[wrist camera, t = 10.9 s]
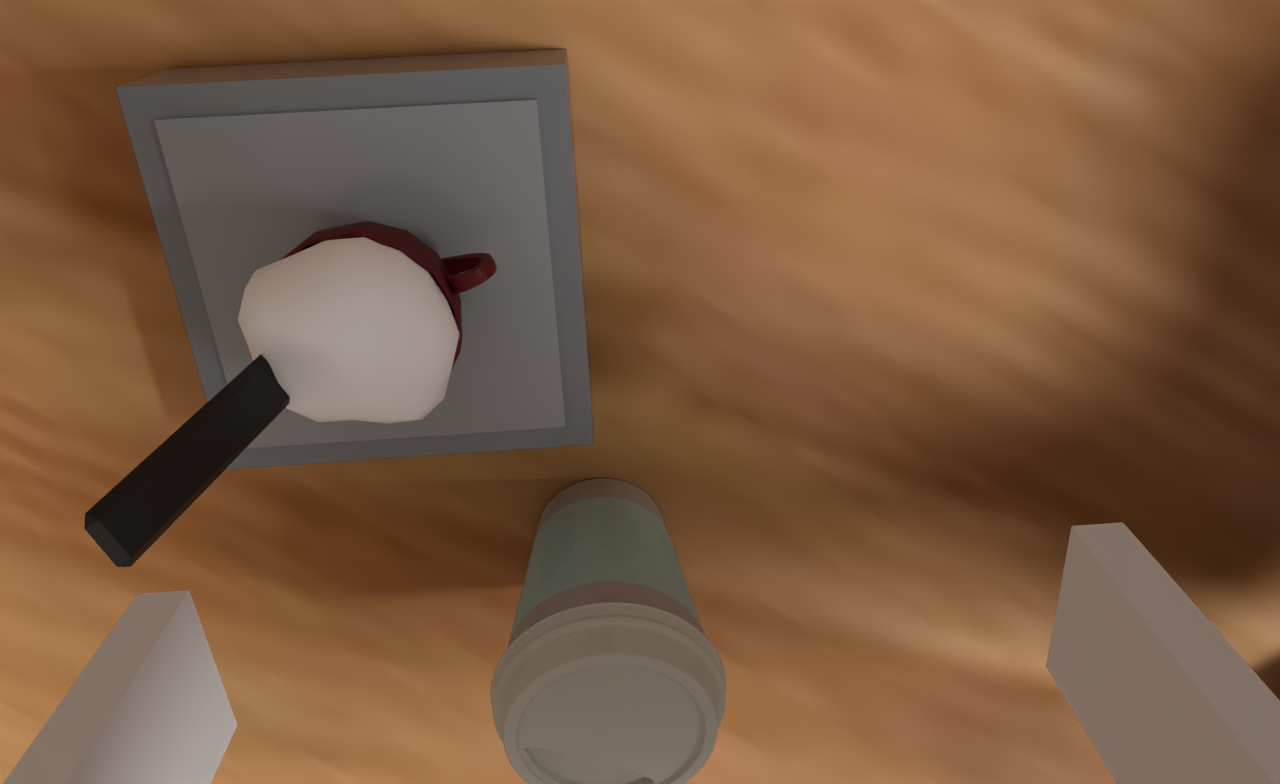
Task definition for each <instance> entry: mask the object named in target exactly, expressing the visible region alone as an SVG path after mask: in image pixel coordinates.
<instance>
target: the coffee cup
mask: <svg viewBox="0 0 1280 784" xmlns="http://www.w3.org/2000/svg"><path fill="white" fill-rule="evenodd" d="M725 694H726V677H725V671H724V667H723V664H722V661H721V659H720V657H719V655H718V653H717V651H716V649H715V648H714V646H713V645H712V644H711V642H710V641H709V640H708V639H707V638H706V637H705V636H704V633H703V630H702V627H701V624H700V621H699V619H698V616H697V613H696V610H695V607H694V604H693V602H692V599H691V596H690V593H689V590H688V587H687V585H686V582H685V579H684V576H683V573H682V570H681V567H680V565H679V562H678V559H677V556H676V553H675V550H674V548H673V545H672V542H671V539H670V536H669V534H668V531H667V528H666V525H665V523H664V520H663V517H662V514H661V512H660V510H659V508H658V506H657V504H656V503H655V502H654V500H653V499H652V498H651V497H650V496H649V495H648V494H647V493H645V492H644V491H643V490H641V489H640V488H638V487H636V486H634V485H632V484H630V483H627V482H624V481H620V480H615V479H604V478H602V479H591V480H586V481H582V482H578V483H576V484H573V485H571V486H569V487H567V488H565V489H564V490H562V491H561V492H559V493H558V494H557V495H556V496H555V497H554V498H553V499H552V500H551V501H550V502H549V503H548V504H547V506H546V507H545V509H544V511H543V513H542V515H541V518H540V521H539V525H538V529H537V533H536V536H535V540H534V544H533V548H532V552H531V556H530V560H529V564H528V568H527V572H526V576H525V580H524V584H523V588H522V592H521V596H520V600H519V604H518V608H517V612H516V616H515V620H514V624H513V629H512V633H511V637H510V641H509V645H508V649H507V650H506V651H505V653H504V654H503V656H502V657H501V659H500V661H499V662H498V665H497V667H496V669H495V672H494V675H493V679H492V684H491V704H492V709H493V719H494V724H495V727H496V730H497V732H498V735H499V737H500V739H501V740H502V742H503V744H504V748H505V751H506V755H507V757H508V759H509V761H510V763H511V765H512V766H513V768H514V769H515V771H516V772H517V773H518V774H519V776H520V777H521V778H522V779H523V780H524V781H526V782H527V783H528V784H685V783H686V782H687V781H689V780H690V779H691V778H692V777H693V776H694V775H695V774H696V773H697V772H698V771H699V770H700V769H701V768H702V767H703V766H704V764H705V763H706V761H707V760H708V758H709V756H710V755H711V753H712V751H713V748H714V745H715V743H716V738H717V733H718V728H719V726H720V724H721V721H722V718H723V715H724V710H725V700H726V696H725Z"/></svg>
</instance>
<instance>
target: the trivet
mask: <svg viewBox="0 0 1280 784" xmlns="http://www.w3.org/2000/svg"><path fill="white" fill-rule="evenodd" d="M116 91H117V94H118V98H119V101H120V105H121V108H122V111H123V115H124V118H125V122H126V125H127V129H128V132H129V135H130V139H131V142H132V146H133V149H134V153H135V156H136V160H137V163H138V166H139V170H140V173H141V177H142V180H143V184H144V187H145V190H146V194H147V197H148V201H149V204H150V208H151V211H152V214H153V218H154V221H155V225H156V228H157V232H158V235H159V238H160V242H161V245H162V249H163V252H164V256H165V259H166V262H167V266H168V269H169V273H170V276H171V280H172V283H173V286H174V290H175V293H176V297H177V300H178V304H179V307H180V310H181V314H182V317H183V321H184V324H185V328H186V331H187V335H188V338H189V341H190V345H191V348H192V352H193V355H194V359H195V362H196V365H197V369H198V372H199V376H200V379H201V383H202V386H203V389H204V393H205V396H206V400H207V402H209V401H210V400H211V399H212V398H213V397H214V396H215V395H216V394H217V393H218V392H220V391H221V390H222V389H223V388H224V387H225V386H226V385H227V384H228V383H229V382H231V381H232V380H233V379H234V378H235V377H236V376H237V375H238V374H239V373H240V372H242V371H243V370H244V369H245V368H246V367H247V366H248V365H249V364H250V363H251V362H253V359H252V356H251V353H250V350H249V348H248V345H247V342H246V340H245V337H244V335H243V332H242V329H241V327H240V324H239V322H238V316H239V311H240V307H241V303H242V299H243V295H244V290H245V287H246V286H247V284H248V282H249V281H250V279H251V277H252V276H253V274H254V272H255V271H256V270H258V269H260V268H263V267H265V266H267V265H270V264H272V263H275V262H277V261H279V260H281V259H282V258H283V257H284V256H285V255H287V254H288V253H289V252H290V251H292V250H293V249H294V248H296V247H297V246H298V245H299V244H301V243H302V242H303V241H304V240H306V239H307V238H308V237H309V236H311V235H312V234H313V233H315V232H317V231H320V230H323V229H327V228H333V227H338V226H343V225H348V224H354V223H359V222H364V221H371V222H375V223H379V224H383V225H387V226H391V227H396V228H400V229H404V230H407V231H409V232H410V233H411V234H413V235H414V236H415V237H417V238H418V239H419V240H421V241H422V242H423V243H425V244H426V245H427V246H429V247H430V248H431V249H433V250H434V251H435V252H436V253H438V255H439V257H440V259H442V258H446V257H452V256H458V255H464V254H472V253H488V254H490V255H491V256H492V257H493V259H494V260H495V263H496V266H497V270H496V272H495V273H494V275H493V276H492V277H490V278H489V279H488V280H487V281H485V282H484V283H482V284H480V285H478V286H476V287H474V288H472V289H469V290H467V291H464V292H462V293H459V295H460V298H461V315H462V345H461V351H460V354H459V356H458V358H457V360H456V362H455V364H454V366H453V368H452V370H451V373H450V377H449V381H448V385H447V389H446V393H445V396H444V399H443V400H442V401H441V402H440V403H439V404H438V405H437V406H436V407H435V408H434V409H433V410H432V411H431V412H430V413H428V414H427V415H426V416H425V417H424V418H423V419H421V420H413V421H405V422H397V423H389V424H388V423H378V422H367V421H357V420H348V421H330V422H316V421H314V420H312V419H309V418H307V417H305V416H303V415H300V414H298V413H296V412H294V411H291V410H289V409H287V408H285V409H284V410H283V411H282V412H281V413H280V414H279V415H278V416H277V417H276V418H275V419H274V420H273V421H272V422H271V423H270V424H269V425H268V426H267V427H266V428H265V429H264V430H263V431H262V432H261V433H260V434H259V435H258V436H257V437H256V438H255V439H254V440H253V441H252V442H251V443H250V444H249V445H248V447H247V448H246V449H245V450H244V451H243V452H242V453H241V454H240V455H239V456H238V457H237V458H236V459H235V460H234V461H233V462H232V463H231V464H230V465H229V466H228V467H227V469H240V468H255V467H269V466H284V465H299V464H313V463H328V462H343V461H358V460H372V459H387V458H402V457H416V456H431V455H446V454H461V453H475V452H490V451H505V450H520V449H534V448H549V447H564V446H578V445H593V444H594V440H593V415H592V393H591V380H590V366H589V352H588V338H587V324H586V311H585V297H584V283H583V269H582V255H581V242H580V228H579V214H578V200H577V186H576V173H575V159H574V145H573V131H572V117H571V104H570V90H569V76H568V62H567V49H551V50H531V51H511V52H492V53H472V54H452V55H432V56H413V57H393V58H373V59H353V60H333V61H314V62H294V63H274V64H254V65H234V66H215V67H195V68H175V69H165V70H162V71H159V72H156V73H154V74H151V75H148V76H145V77H143V78H140V79H137V80H134V81H132V82H129V83H126V84H123V85H121V86H118V87H116ZM462 273H464V272H462ZM459 274H460V273H459Z"/></svg>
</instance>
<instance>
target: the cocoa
mask: <svg viewBox="0 0 1280 784" xmlns="http://www.w3.org/2000/svg"><path fill="white" fill-rule="evenodd" d="M496 270H497V266H496V263H495V260H494V259H493V257H492V256H491V255H490V254H488V253H472V254H464V255H458V256H452V257H446V258H442V259H440V257H439V255H438V253H436V252H435V251H434V250H433V249H431V248H430V247H429V246H427V245H426V244H425V243H423V242H422V241H421V240H419V239H418V238H417V237H415V236H414V235H413V234H411V233H410V232H409V231H407V230H404V229H400V228H396V227H391V226H387V225H383V224H379V223H375V222H371V221H364V222H359V223H354V224H348V225H343V226H338V227H333V228H327V229H323V230H320V231H317V232H315V233H313V234H312V235H311V236H309V237H308V238H307V239H306V240H304V241H303V242H302V243H301V244H299V245H298V246H297V247H296V248H294V249H293V250H292V251H290V252H289V253H288V254H287V255H285V256H284V257H283V258H282V259H281V260H279V261H277V262H275V263H272V264H270V265H267V266H265V267H263V268H260V269H258V270H256V271H255V272H254V274H253V276H252V277H251V279H250V281H249V282H248V284H247V286H246V287H245V290H244V295H243V299H242V303H241V307H240V311H239V316H238V322H239V324H240V327H241V329H242V332H243V335H244V337H245V340H246V342H247V345H248V348H249V350H250V353H251V356H252V359H253V362H251V363H250V364H249V365H248V366H247V367H246V368H245V369H244V370H243V371H242V372H240V373H239V374H238V375H237V376H236V377H235V378H234V379H233V380H232V381H231V382H229V383H228V384H227V385H226V386H225V387H224V388H223V389H222V390H221V391H220V392H218V393H217V394H216V395H215V396H214V397H213V398H212V399H211V400H210V401H209V402H207V403H206V404H205V405H204V406H203V407H202V408H201V409H200V410H199V411H198V412H196V413H195V414H194V415H193V416H192V417H191V418H190V419H189V420H188V421H187V422H185V423H184V424H183V425H182V426H181V427H180V428H179V429H178V430H177V431H176V432H174V433H173V434H172V435H171V436H170V437H169V438H168V439H167V440H166V441H165V442H163V443H162V444H161V445H160V446H159V447H158V448H157V449H156V450H155V451H154V452H152V453H151V454H150V455H149V456H148V457H147V458H146V459H145V460H144V461H143V462H141V463H140V464H139V465H138V466H137V467H136V468H135V469H134V470H133V471H132V472H130V473H129V474H128V475H127V476H126V477H125V478H124V479H123V480H122V481H121V482H119V483H118V484H117V485H116V486H115V487H114V488H113V489H112V490H111V491H110V492H108V493H107V494H106V495H105V496H104V497H103V498H102V499H101V500H100V501H99V502H97V503H96V504H95V505H94V506H93V507H92V508H91V509H90V510H89V511H88V512H86V513H85V527H84V529H85V530H86V531H87V532H88V533H89V534H90V536H91V537H92V538H93V539H94V540H95V541H96V543H97V544H98V545H99V546H100V547H101V548H102V550H103V551H104V552H105V553H106V554H107V556H108V557H109V558H110V559H111V560H112V561H113V563H114V564H115V565H116V566H117V567H131V566H132V565H133V563H134V562H135V561H136V560H137V559H138V558H139V557H140V556H141V555H142V554H143V553H144V552H145V551H146V550H147V549H148V548H149V547H150V546H151V545H152V544H153V543H154V542H155V541H156V540H157V539H158V538H159V537H160V536H161V535H162V534H163V533H164V532H165V531H166V530H167V529H168V528H169V527H170V526H171V524H172V523H173V522H174V521H175V520H176V519H177V518H178V517H179V516H180V515H181V514H182V513H183V512H184V511H185V510H186V509H187V508H188V507H189V506H190V505H191V504H192V503H193V502H194V501H195V500H196V499H197V498H198V497H199V496H200V495H201V494H202V493H203V492H204V491H205V490H206V489H207V488H208V487H209V486H210V484H211V483H212V482H213V481H214V480H215V479H216V478H217V477H218V476H219V475H220V474H221V473H222V472H223V471H224V470H225V469H226V468H227V467H228V466H229V465H230V464H231V463H232V462H233V461H234V460H235V459H236V458H237V457H238V456H239V455H240V454H241V453H242V452H243V451H244V450H245V449H246V448H247V447H248V445H249V444H250V443H251V442H252V441H253V440H254V439H255V438H256V437H257V436H258V435H259V434H260V433H261V432H262V431H263V430H264V429H265V428H266V427H267V426H268V425H269V424H270V423H271V422H272V421H273V420H274V419H275V418H276V417H277V416H278V415H279V414H280V413H281V412H282V411H283V410H284V409H285V408H287V409H289V410H291V411H294V412H296V413H298V414H300V415H303V416H305V417H307V418H309V419H312V420H314V421H316V422H330V421H348V420H357V421H367V422H378V423H388V424H389V423H397V422H405V421H413V420H421V419H423V418H424V417H425V416H426V415H427V414H428V413H430V412H431V411H432V410H433V409H434V408H435V407H436V406H437V405H438V404H439V403H440V402H441V401H442V400H443V399H444V396H445V393H446V389H447V385H448V381H449V377H450V373H451V370H452V368H453V366H454V364H455V362H456V360H457V358H458V356H459V354H460V351H461V345H462V315H461V298H460V295H459V293H462V292H464V291H467V290H469V289H472V288H474V287H476V286H478V285H480V284H482V283H484V282H485V281H487V280H488V279H489V278H490V277H492V276H493V275H494V273H495V272H496ZM462 272H464V273H462ZM459 273H460V274H459Z"/></svg>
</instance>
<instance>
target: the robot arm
mask: <svg viewBox="0 0 1280 784" xmlns="http://www.w3.org/2000/svg"><path fill="white" fill-rule="evenodd" d="M1046 667H1047V669H1048V670H1049V672H1050V674H1051V675H1052V677H1053V679H1054V680H1055V682H1056V684H1057V685H1058V687H1059V689H1060V690H1061V692H1062V694H1063V695H1064V697H1065V698H1066V700H1067V702H1068V703H1069V705H1070V707H1071V708H1072V710H1073V712H1074V713H1075V715H1076V717H1077V718H1078V720H1079V722H1080V723H1081V725H1082V727H1083V728H1084V730H1085V732H1086V733H1087V735H1088V737H1089V738H1090V740H1091V742H1092V743H1093V745H1094V747H1095V748H1096V750H1097V752H1098V753H1099V755H1100V757H1101V758H1102V760H1103V762H1104V763H1105V765H1106V767H1107V768H1108V770H1109V772H1110V773H1111V775H1112V776H1113V778H1114V780H1115V781H1116V783H1117V784H1280V700H1279V699H1278V698H1277V697H1276V696H1275V695H1274V693H1273V692H1272V691H1271V690H1270V689H1269V688H1268V687H1267V686H1266V684H1265V683H1264V682H1263V681H1262V680H1261V679H1260V678H1259V676H1258V675H1257V674H1256V673H1255V672H1254V671H1253V670H1252V668H1251V667H1250V666H1249V665H1248V664H1247V663H1246V662H1245V661H1244V659H1243V658H1242V657H1241V656H1240V655H1239V654H1238V653H1237V651H1236V650H1235V649H1234V648H1233V647H1232V646H1231V645H1230V643H1229V642H1228V641H1227V640H1226V639H1225V638H1224V637H1223V636H1222V634H1221V633H1220V632H1219V631H1218V630H1217V629H1216V628H1215V626H1214V625H1213V624H1212V623H1211V622H1210V621H1209V620H1208V618H1207V617H1206V616H1205V615H1204V614H1203V613H1202V612H1201V611H1200V609H1199V608H1198V607H1197V606H1196V605H1195V604H1194V603H1193V601H1192V600H1191V599H1190V598H1189V597H1188V596H1187V595H1186V593H1185V592H1184V591H1183V590H1182V589H1181V588H1180V587H1179V586H1178V584H1177V583H1176V582H1175V581H1174V580H1173V579H1172V578H1171V576H1170V575H1169V574H1168V573H1167V572H1166V571H1165V570H1164V568H1163V567H1162V566H1161V565H1160V564H1159V563H1158V562H1157V561H1156V559H1155V558H1154V557H1153V556H1152V555H1151V554H1150V553H1149V551H1148V550H1147V549H1146V548H1145V547H1144V546H1143V545H1142V543H1141V542H1140V541H1139V540H1138V539H1137V538H1136V537H1135V536H1134V534H1133V533H1132V532H1131V531H1130V530H1129V529H1128V528H1127V526H1126V525H1125V524H1124V523H1123V522H1119V523H1106V524H1092V525H1078V526H1071V532H1070V537H1069V543H1068V548H1067V554H1066V559H1065V565H1064V570H1063V576H1062V581H1061V587H1060V592H1059V598H1058V603H1057V609H1056V614H1055V620H1054V625H1053V631H1052V636H1051V642H1050V647H1049V653H1048V658H1047V664H1046ZM236 727H237V723H236V720H235V717H234V714H233V712H232V709H231V706H230V703H229V700H228V698H227V695H226V692H225V689H224V686H223V684H222V681H221V678H220V675H219V672H218V670H217V667H216V664H215V661H214V659H213V656H212V653H211V650H210V647H209V645H208V642H207V639H206V636H205V633H204V631H203V628H202V625H201V622H200V619H199V617H198V614H197V611H196V608H195V605H194V603H193V600H192V597H191V594H190V592H189V590H182V591H168V592H155V593H141V594H137V595H136V596H135V598H134V599H133V601H132V602H131V603H130V605H129V606H128V608H127V609H126V610H125V612H124V613H123V615H122V616H121V618H120V619H119V620H118V622H117V623H116V625H115V626H114V627H113V629H112V630H111V632H110V633H109V635H108V636H107V637H106V639H105V640H104V642H103V643H102V644H101V646H100V647H99V649H98V650H97V652H96V653H95V654H94V656H93V657H92V659H91V660H90V662H89V663H88V664H87V666H86V667H85V669H84V670H83V671H82V673H81V674H80V676H79V677H78V679H77V680H76V681H75V683H74V684H73V686H72V687H71V688H70V690H69V691H68V693H67V694H66V696H65V697H64V698H63V700H62V701H61V703H60V704H59V705H58V707H57V708H56V710H55V711H54V713H53V714H52V715H51V717H50V718H49V720H48V721H47V722H46V724H45V725H44V727H43V728H42V730H41V731H40V732H39V734H38V735H37V737H36V738H35V739H34V741H33V742H32V744H31V745H30V747H29V748H28V749H27V751H26V752H25V754H24V755H23V756H22V758H21V759H20V761H19V762H18V764H17V765H16V766H15V768H14V769H13V771H12V772H11V773H10V775H9V776H8V778H7V779H6V781H5V782H4V783H3V784H211V782H212V779H213V777H214V775H215V773H216V771H217V769H218V766H219V764H220V762H221V760H222V758H223V756H224V753H225V751H226V749H227V747H228V745H229V743H230V740H231V738H232V736H233V734H234V732H235V730H236Z"/></svg>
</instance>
